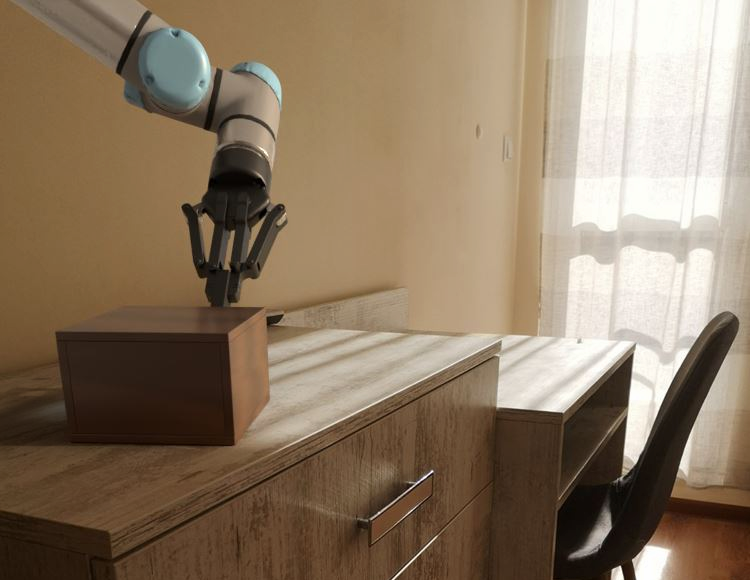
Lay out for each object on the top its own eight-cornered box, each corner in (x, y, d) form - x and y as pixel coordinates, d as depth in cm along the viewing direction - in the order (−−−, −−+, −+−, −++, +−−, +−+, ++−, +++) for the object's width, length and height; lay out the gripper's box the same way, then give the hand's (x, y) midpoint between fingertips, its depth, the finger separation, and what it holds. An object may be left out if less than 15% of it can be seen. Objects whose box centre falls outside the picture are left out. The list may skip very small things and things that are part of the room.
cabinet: (133, 398, 87) (124, 305, 83) (270, 400, 86) (265, 307, 83) (69, 442, 71) (54, 331, 68) (235, 445, 70) (228, 333, 67)
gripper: (297, 191, 106) (280, 343, 96) (198, 191, 106) (170, 341, 97) (289, 144, 99) (269, 302, 89) (183, 144, 100) (151, 301, 90)
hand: (218, 322), depth 93 cm, fingers closed
